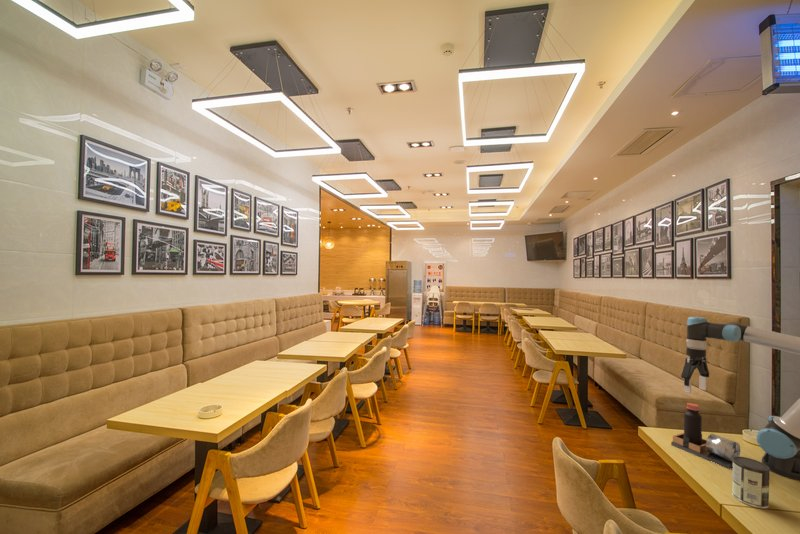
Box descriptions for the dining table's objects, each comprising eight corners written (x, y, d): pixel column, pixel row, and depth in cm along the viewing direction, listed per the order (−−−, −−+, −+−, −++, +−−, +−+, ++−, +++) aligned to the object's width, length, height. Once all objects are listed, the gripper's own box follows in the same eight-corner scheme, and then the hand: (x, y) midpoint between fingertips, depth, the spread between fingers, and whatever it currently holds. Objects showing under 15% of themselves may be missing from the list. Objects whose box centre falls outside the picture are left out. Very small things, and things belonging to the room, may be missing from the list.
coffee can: (754, 493, 139) (755, 458, 139) (776, 511, 129) (778, 472, 129) (724, 489, 141) (725, 454, 141) (743, 506, 131) (745, 468, 131)
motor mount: (743, 463, 162) (744, 440, 163) (728, 469, 157) (729, 445, 157) (685, 440, 183) (686, 420, 183) (671, 444, 178) (672, 424, 178)
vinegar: (680, 443, 177) (681, 403, 177) (688, 441, 180) (689, 401, 180) (696, 449, 171) (697, 407, 171) (704, 447, 173) (704, 406, 174)
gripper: (700, 345, 184) (699, 385, 184) (673, 347, 174) (672, 391, 173) (718, 348, 177) (717, 390, 177) (691, 351, 167) (689, 396, 167)
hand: (695, 390), depth 175 cm, fingers open, 13 cm apart
